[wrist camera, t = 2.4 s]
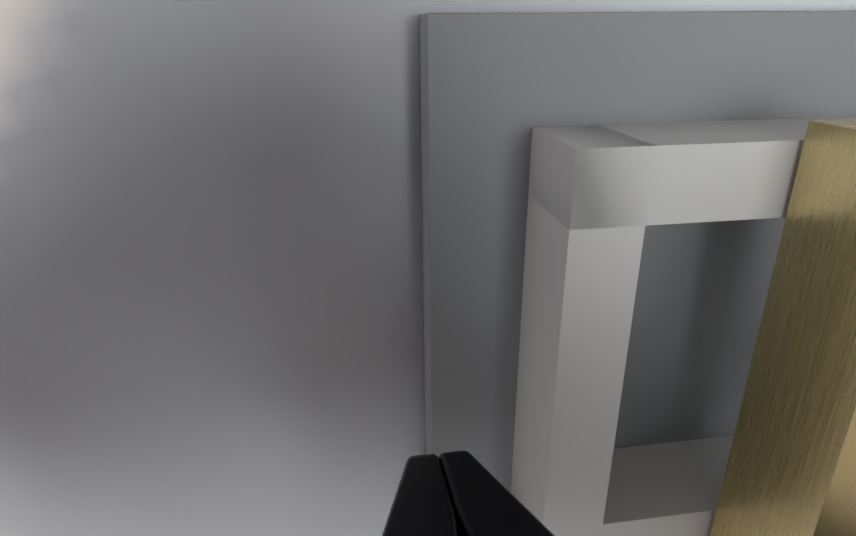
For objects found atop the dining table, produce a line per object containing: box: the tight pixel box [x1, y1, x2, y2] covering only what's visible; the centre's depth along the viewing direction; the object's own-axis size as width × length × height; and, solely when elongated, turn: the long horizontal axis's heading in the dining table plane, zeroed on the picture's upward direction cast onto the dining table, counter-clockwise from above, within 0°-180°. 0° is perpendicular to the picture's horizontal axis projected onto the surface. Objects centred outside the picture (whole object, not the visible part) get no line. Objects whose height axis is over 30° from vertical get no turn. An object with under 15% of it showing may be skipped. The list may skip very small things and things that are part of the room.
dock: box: [419, 11, 856, 536], centre depth 12 cm, size 12×18×3 cm
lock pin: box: [710, 119, 856, 536], centre depth 9 cm, size 10×2×2 cm, turn 1°
